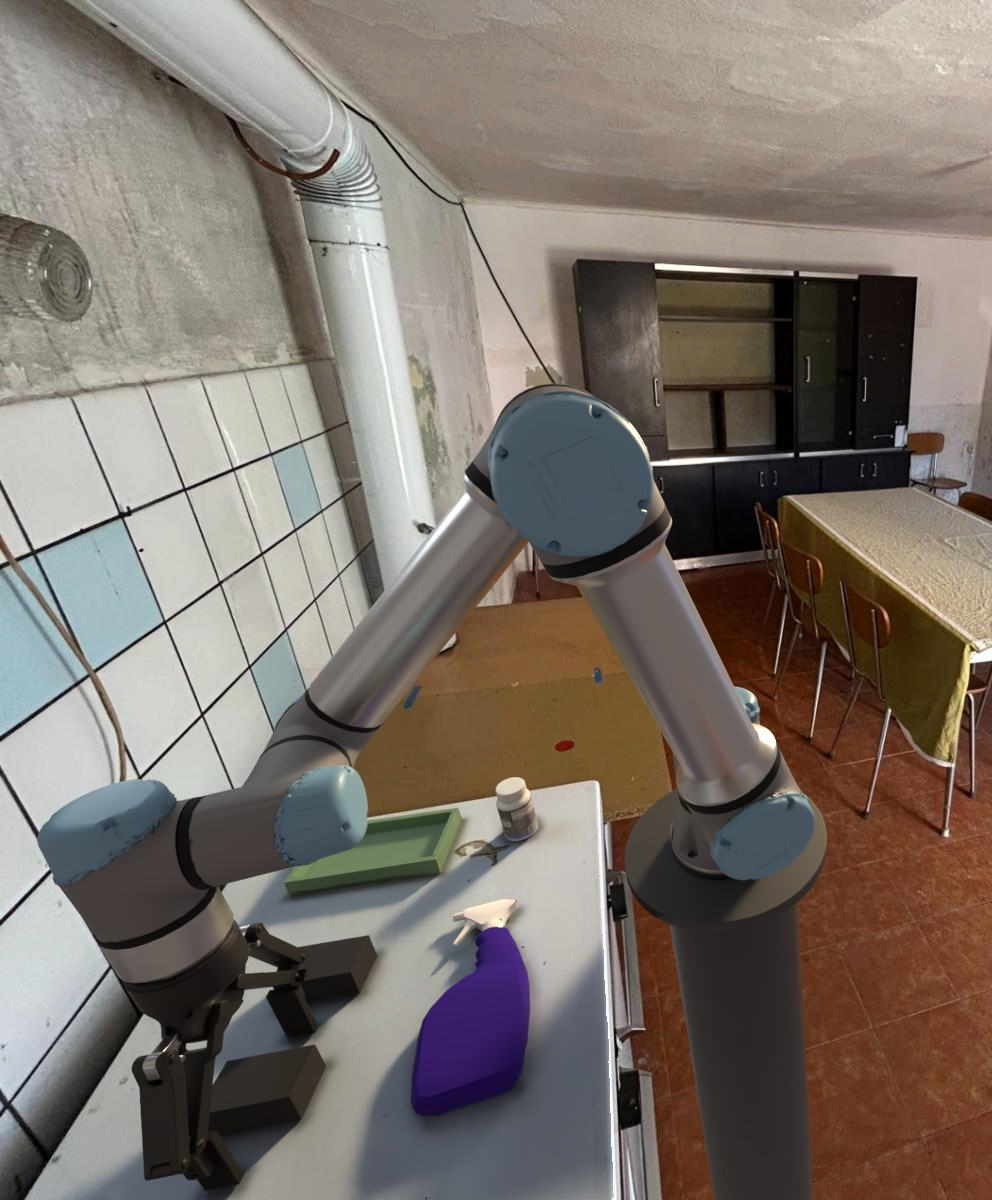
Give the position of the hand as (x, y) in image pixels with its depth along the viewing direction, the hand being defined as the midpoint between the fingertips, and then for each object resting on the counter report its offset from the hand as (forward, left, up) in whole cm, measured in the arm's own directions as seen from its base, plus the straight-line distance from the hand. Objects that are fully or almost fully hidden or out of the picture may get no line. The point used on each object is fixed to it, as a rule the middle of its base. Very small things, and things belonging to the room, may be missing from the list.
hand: (267, 1100), depth 64 cm
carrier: (+2, -33, 0) cm, 33 cm away
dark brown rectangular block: (0, -13, 0) cm, 13 cm away
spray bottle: (-18, -7, 0) cm, 20 cm away
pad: (0, 0, 0) cm, 0 cm away
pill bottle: (-17, -34, 0) cm, 38 cm away
